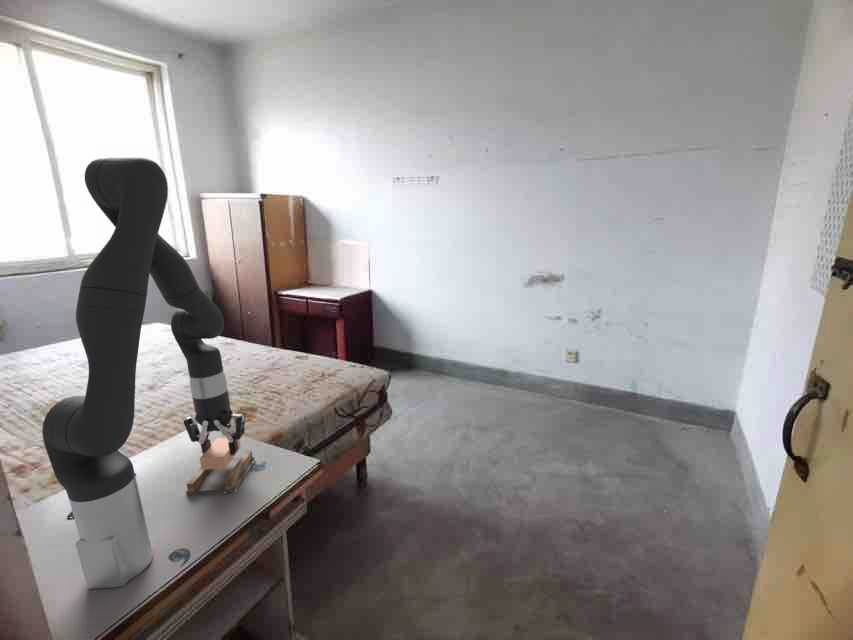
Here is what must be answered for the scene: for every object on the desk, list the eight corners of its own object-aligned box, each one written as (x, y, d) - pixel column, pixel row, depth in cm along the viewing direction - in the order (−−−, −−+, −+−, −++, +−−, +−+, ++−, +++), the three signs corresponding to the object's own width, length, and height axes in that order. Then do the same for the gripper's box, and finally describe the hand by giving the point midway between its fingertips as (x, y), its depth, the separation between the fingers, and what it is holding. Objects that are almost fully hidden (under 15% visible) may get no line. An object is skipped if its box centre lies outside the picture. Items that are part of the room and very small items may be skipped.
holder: (234, 492, 95) (232, 481, 94) (186, 495, 94) (184, 484, 94) (255, 460, 107) (253, 450, 107) (212, 463, 107) (210, 452, 106)
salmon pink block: (219, 448, 105) (217, 438, 104) (240, 447, 105) (239, 437, 104) (201, 469, 96) (199, 458, 95) (225, 468, 96) (223, 457, 95)
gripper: (246, 382, 100) (256, 444, 104) (187, 385, 99) (199, 447, 103) (234, 395, 92) (244, 461, 97) (169, 399, 92) (183, 465, 96)
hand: (221, 454), depth 100 cm, fingers closed on salmon pink block, 5 cm apart
